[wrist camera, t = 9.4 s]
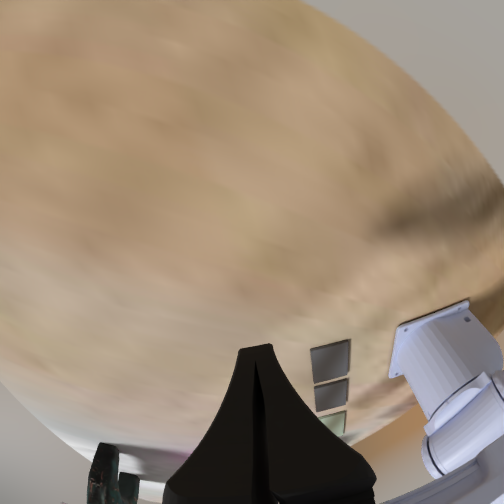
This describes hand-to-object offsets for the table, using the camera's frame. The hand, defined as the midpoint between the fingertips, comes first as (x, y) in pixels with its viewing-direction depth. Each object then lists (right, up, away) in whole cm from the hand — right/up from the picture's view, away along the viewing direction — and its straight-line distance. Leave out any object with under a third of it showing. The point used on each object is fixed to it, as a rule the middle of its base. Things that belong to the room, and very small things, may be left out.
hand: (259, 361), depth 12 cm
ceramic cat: (-24, -33, +25) cm, 48 cm away
